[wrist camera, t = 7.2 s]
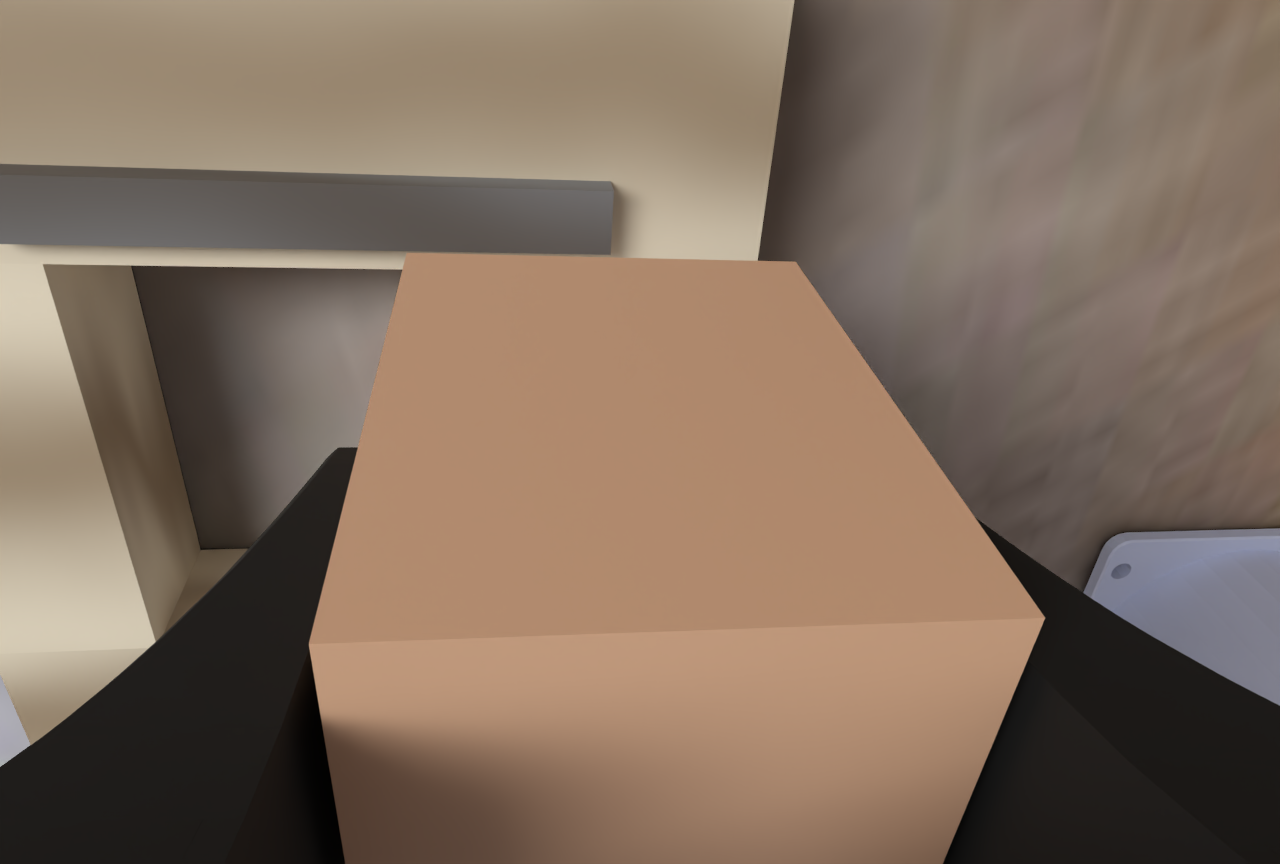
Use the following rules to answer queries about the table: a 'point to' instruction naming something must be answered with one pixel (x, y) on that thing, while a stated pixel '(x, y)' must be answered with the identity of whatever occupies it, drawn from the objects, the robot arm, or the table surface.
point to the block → (650, 582)
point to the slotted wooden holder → (304, 227)
